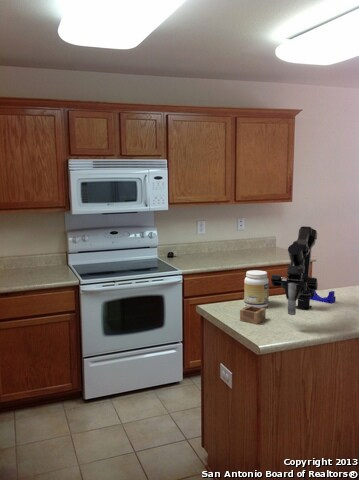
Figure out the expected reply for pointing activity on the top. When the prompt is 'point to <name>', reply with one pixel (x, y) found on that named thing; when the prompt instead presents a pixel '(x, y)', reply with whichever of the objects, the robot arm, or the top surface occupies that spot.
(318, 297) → the cable clip
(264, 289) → the supplement tub
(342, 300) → the top surface
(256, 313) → the walnut square holder
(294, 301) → the slate dowel
